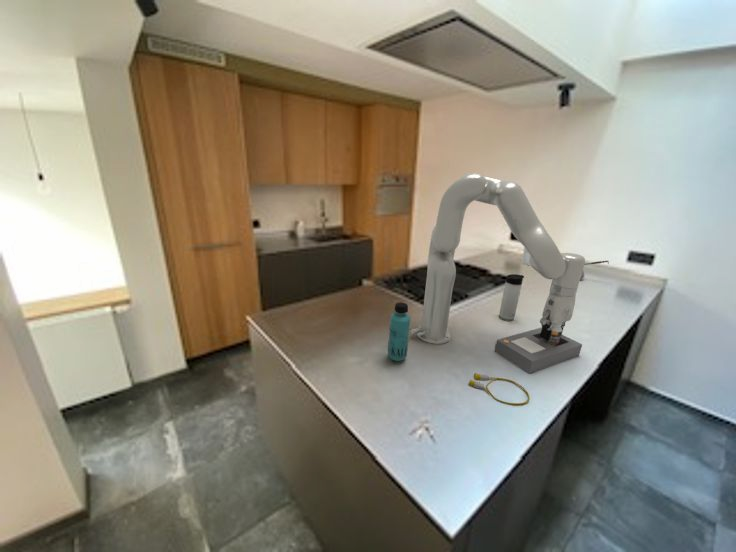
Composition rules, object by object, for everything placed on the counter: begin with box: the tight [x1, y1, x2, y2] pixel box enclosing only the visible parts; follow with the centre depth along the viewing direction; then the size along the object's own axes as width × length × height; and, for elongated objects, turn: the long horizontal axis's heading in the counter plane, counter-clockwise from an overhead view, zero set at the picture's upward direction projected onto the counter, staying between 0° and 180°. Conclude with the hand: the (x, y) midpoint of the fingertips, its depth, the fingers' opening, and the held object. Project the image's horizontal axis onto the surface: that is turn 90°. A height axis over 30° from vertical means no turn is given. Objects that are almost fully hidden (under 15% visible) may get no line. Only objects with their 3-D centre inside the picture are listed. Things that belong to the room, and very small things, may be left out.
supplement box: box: [520, 246, 531, 267], centre depth 216 cm, size 10×9×17 cm
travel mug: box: [498, 273, 525, 322], centre depth 130 cm, size 6×7×20 cm
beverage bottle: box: [387, 302, 411, 362], centre depth 97 cm, size 6×7×20 cm
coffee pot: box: [580, 260, 610, 280], centre depth 186 cm, size 21×12×15 cm, turn 46°
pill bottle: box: [540, 319, 563, 347], centre depth 108 cm, size 6×6×10 cm
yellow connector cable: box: [468, 372, 531, 407], centre depth 89 cm, size 12×16×2 cm
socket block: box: [494, 326, 583, 374], centre depth 107 cm, size 26×14×5 cm, turn 116°
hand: (550, 336), depth 108 cm, fingers closed on pill bottle, 5 cm apart
